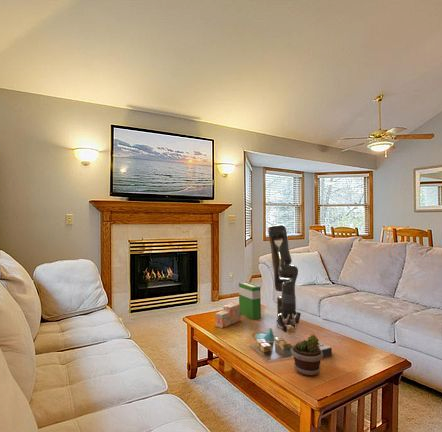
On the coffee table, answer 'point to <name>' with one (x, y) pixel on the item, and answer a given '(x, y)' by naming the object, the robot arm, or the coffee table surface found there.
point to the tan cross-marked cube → (290, 329)
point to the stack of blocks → (228, 315)
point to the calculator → (324, 349)
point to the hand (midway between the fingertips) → (289, 331)
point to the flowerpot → (307, 356)
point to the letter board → (274, 348)
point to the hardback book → (250, 300)
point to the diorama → (266, 336)
